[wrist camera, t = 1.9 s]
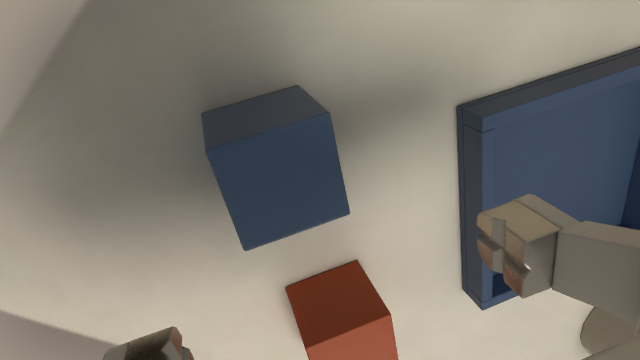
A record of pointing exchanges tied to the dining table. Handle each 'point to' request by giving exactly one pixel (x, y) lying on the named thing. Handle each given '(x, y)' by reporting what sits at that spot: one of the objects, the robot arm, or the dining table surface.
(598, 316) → the cup
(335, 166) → the blue block
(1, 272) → the dining table surface
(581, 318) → the dining table surface
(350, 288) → the rust block
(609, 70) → the blue tray
